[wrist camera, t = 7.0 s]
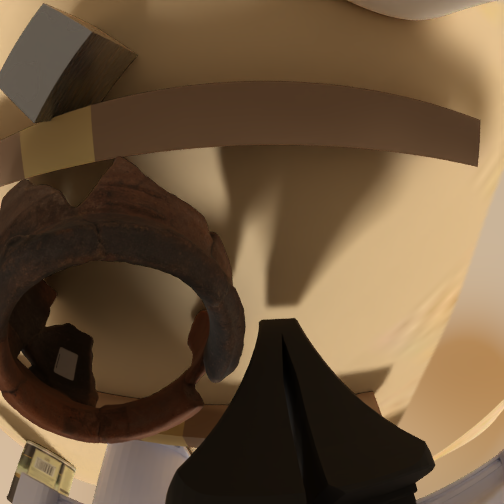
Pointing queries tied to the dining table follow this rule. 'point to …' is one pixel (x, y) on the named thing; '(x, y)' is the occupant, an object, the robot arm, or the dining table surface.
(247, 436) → the robot arm
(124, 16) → the dining table surface
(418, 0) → the pill bottle
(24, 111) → the block
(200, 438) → the walnut slot beam
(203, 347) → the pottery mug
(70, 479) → the coffee can
